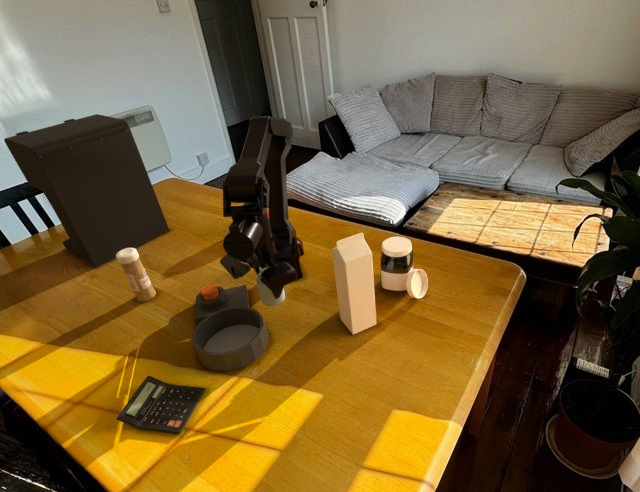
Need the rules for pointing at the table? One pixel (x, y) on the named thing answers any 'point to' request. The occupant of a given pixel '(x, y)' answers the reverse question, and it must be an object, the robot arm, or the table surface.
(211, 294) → the stop button
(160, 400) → the calculator
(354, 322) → the milk
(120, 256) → the sprinkles bottle
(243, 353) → the bottle warmer
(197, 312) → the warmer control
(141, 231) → the dark brown slanted box
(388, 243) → the spread jar
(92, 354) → the table surface
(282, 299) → the bottle
